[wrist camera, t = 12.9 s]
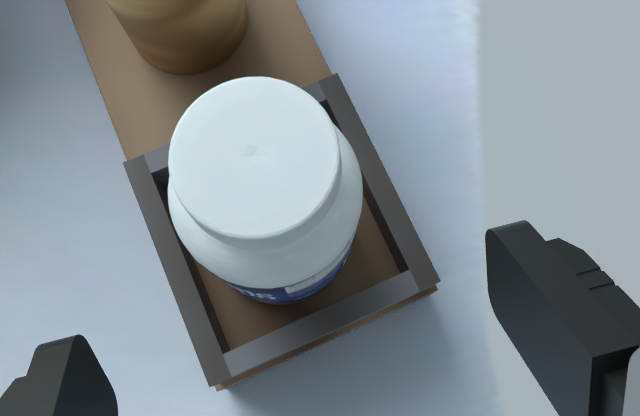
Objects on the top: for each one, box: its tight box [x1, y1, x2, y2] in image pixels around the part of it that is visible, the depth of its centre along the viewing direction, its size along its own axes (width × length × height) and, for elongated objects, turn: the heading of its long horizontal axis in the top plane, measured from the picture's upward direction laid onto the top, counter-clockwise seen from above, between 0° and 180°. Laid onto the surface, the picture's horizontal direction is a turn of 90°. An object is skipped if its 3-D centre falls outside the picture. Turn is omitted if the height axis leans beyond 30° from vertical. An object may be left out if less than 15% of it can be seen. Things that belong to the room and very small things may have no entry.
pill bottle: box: [168, 77, 363, 305], centre depth 18 cm, size 5×5×10 cm
